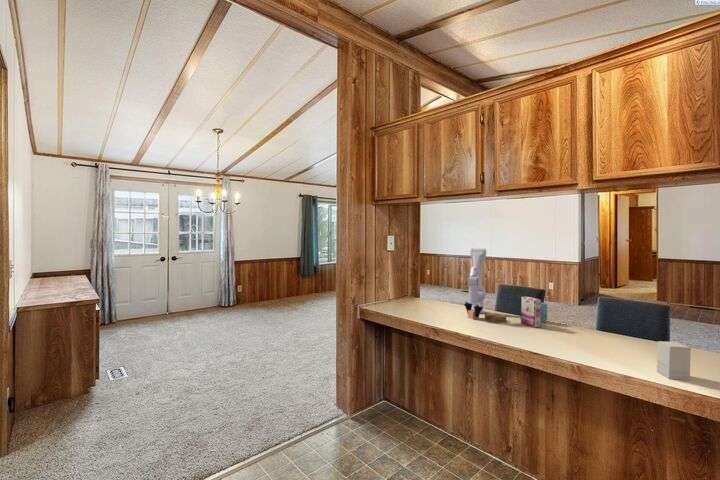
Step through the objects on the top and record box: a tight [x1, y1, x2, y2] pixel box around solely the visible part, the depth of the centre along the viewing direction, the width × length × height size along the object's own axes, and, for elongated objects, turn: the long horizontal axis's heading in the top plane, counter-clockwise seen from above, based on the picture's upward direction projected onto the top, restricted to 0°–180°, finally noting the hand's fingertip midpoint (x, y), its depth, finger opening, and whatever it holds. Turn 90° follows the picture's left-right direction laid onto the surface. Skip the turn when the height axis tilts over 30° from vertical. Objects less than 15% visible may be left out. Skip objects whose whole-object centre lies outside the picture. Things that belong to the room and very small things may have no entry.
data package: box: [541, 301, 548, 324], centre depth 220 cm, size 12×4×12 cm, turn 36°
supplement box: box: [656, 340, 692, 381], centre depth 137 cm, size 7×7×13 cm
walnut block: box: [484, 312, 507, 323], centre depth 222 cm, size 9×9×4 cm
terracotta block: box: [467, 310, 479, 320], centre depth 226 cm, size 4×4×5 cm
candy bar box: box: [520, 296, 542, 328], centre depth 210 cm, size 11×5×16 cm, turn 16°
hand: (473, 315), depth 226 cm, fingers open, 7 cm apart
